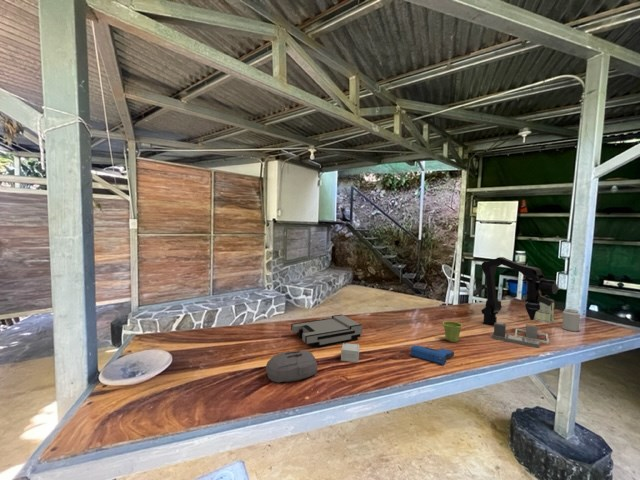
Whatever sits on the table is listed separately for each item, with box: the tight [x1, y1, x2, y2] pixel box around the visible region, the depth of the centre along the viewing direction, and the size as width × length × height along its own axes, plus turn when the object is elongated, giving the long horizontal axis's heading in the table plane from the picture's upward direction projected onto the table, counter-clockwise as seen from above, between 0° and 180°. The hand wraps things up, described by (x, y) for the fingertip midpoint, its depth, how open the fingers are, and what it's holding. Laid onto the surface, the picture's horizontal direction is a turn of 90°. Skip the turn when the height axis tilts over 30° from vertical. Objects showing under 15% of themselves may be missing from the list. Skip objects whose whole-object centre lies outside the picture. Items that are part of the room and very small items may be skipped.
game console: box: [290, 314, 363, 349], centre depth 147 cm, size 21×32×8 cm, turn 116°
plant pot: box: [442, 320, 463, 343], centre depth 147 cm, size 9×9×9 cm
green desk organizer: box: [533, 298, 556, 323], centre depth 184 cm, size 10×10×14 cm
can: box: [561, 308, 581, 333], centre depth 165 cm, size 8×8×12 cm
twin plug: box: [493, 321, 507, 337], centre depth 152 cm, size 5×5×6 cm
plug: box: [525, 323, 538, 339], centre depth 154 cm, size 5×5×6 cm
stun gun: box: [410, 344, 455, 366], centre depth 128 cm, size 4×16×15 cm
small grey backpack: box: [265, 350, 318, 383], centre depth 110 cm, size 15×8×20 cm
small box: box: [340, 342, 360, 363], centre depth 124 cm, size 8×8×5 cm
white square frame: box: [514, 328, 550, 345], centre depth 154 cm, size 15×15×1 cm
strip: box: [491, 332, 540, 349], centre depth 148 cm, size 20×9×1 cm, turn 53°
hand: (531, 318), depth 154 cm, fingers open, 9 cm apart
